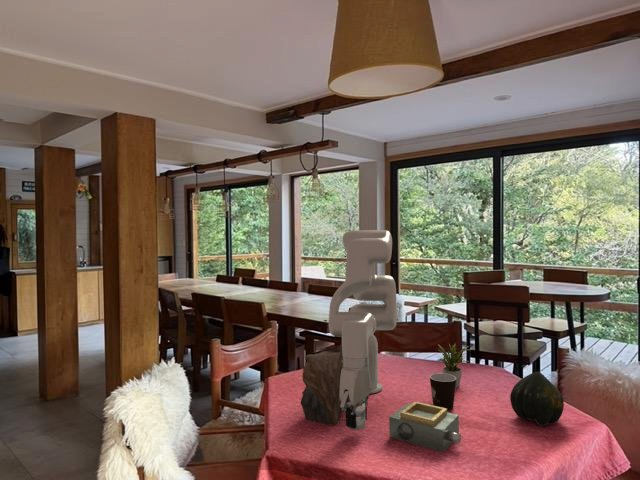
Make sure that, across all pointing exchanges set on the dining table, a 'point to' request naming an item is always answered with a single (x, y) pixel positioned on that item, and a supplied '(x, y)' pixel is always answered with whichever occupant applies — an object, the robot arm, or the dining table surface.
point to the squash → (537, 399)
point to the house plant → (453, 362)
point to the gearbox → (425, 426)
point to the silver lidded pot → (359, 415)
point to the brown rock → (322, 387)
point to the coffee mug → (443, 390)
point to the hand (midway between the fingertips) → (356, 422)
